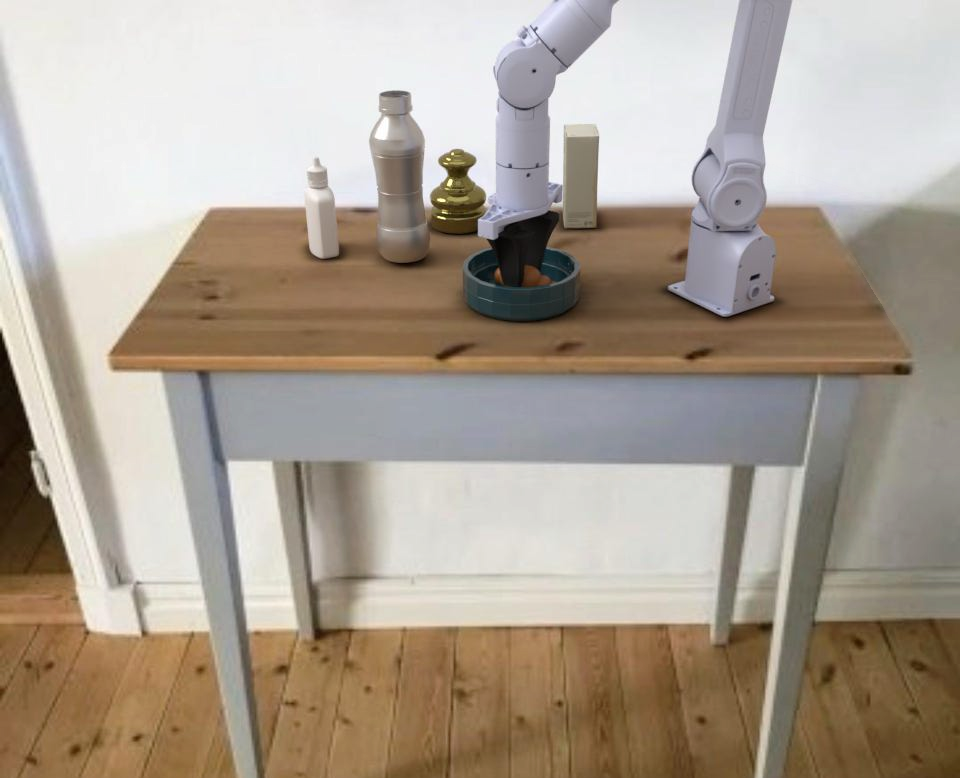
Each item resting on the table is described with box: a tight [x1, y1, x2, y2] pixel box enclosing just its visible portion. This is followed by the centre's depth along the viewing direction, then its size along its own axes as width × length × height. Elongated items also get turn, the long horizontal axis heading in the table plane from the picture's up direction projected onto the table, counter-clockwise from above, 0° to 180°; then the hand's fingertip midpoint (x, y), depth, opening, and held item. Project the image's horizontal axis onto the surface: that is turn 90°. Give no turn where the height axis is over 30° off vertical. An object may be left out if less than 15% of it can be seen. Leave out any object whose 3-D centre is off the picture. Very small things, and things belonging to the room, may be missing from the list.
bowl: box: [462, 245, 581, 322], centre depth 122 cm, size 13×13×4 cm
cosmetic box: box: [562, 123, 600, 229], centre depth 140 cm, size 6×4×12 cm
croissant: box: [494, 265, 556, 287], centre depth 122 cm, size 4×8×3 cm, turn 56°
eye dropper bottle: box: [303, 156, 340, 260], centre depth 132 cm, size 4×6×12 cm
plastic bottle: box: [368, 89, 431, 264], centre depth 128 cm, size 6×7×20 cm
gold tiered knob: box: [429, 148, 487, 235], centre depth 140 cm, size 7×7×10 cm
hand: (521, 279), depth 121 cm, fingers closed on croissant, 3 cm apart
